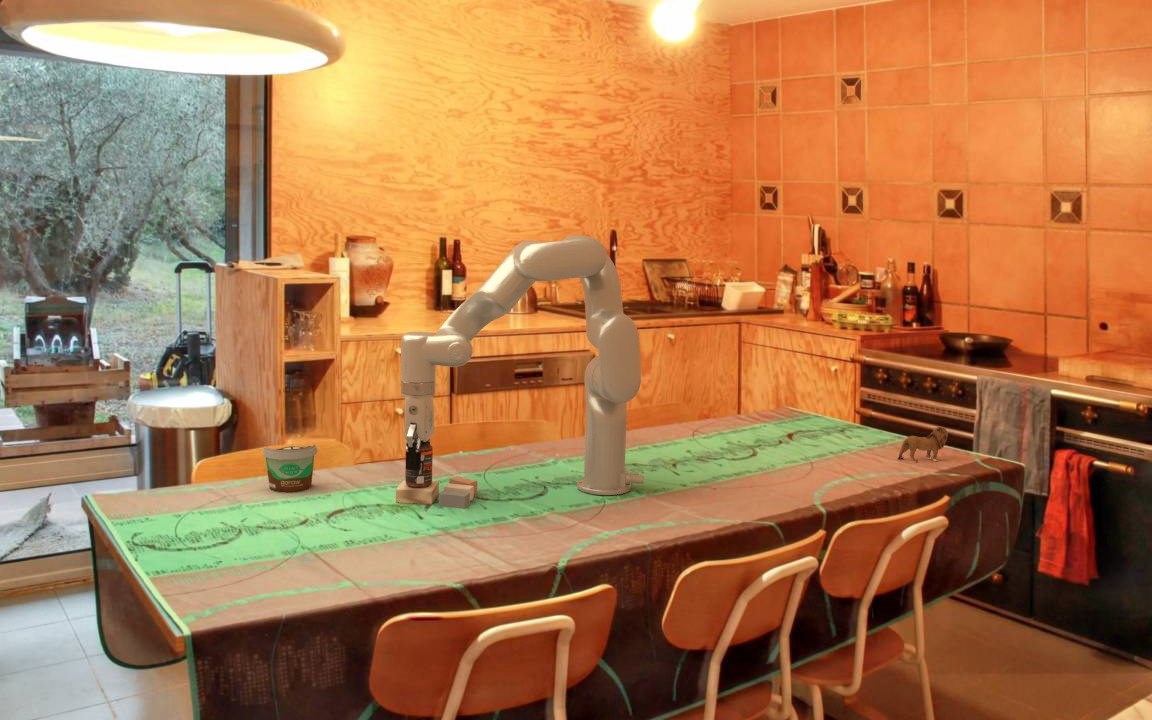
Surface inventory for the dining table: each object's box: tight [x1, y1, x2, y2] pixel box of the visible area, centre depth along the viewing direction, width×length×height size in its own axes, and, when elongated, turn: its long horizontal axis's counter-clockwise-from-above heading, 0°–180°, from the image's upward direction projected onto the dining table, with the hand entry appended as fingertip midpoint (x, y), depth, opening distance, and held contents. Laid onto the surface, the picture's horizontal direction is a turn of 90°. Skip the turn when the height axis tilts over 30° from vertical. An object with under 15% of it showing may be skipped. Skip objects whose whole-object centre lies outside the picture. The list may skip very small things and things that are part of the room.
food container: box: [261, 441, 319, 494], centre depth 239 cm, size 12×6×10 cm, turn 117°
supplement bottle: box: [404, 440, 434, 488], centre depth 235 cm, size 6×6×11 cm
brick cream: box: [443, 483, 475, 501], centre depth 237 cm, size 6×3×3 cm, turn 76°
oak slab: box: [395, 479, 440, 505], centre depth 236 cm, size 8×8×3 cm
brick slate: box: [438, 489, 471, 510], centre depth 232 cm, size 6×3×3 cm, turn 76°
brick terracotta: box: [448, 475, 478, 495], centre depth 242 cm, size 6×3×3 cm, turn 53°
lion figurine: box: [897, 426, 948, 462], centre depth 284 cm, size 15×5×9 cm, turn 108°
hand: (418, 464), depth 235 cm, fingers open, 9 cm apart
